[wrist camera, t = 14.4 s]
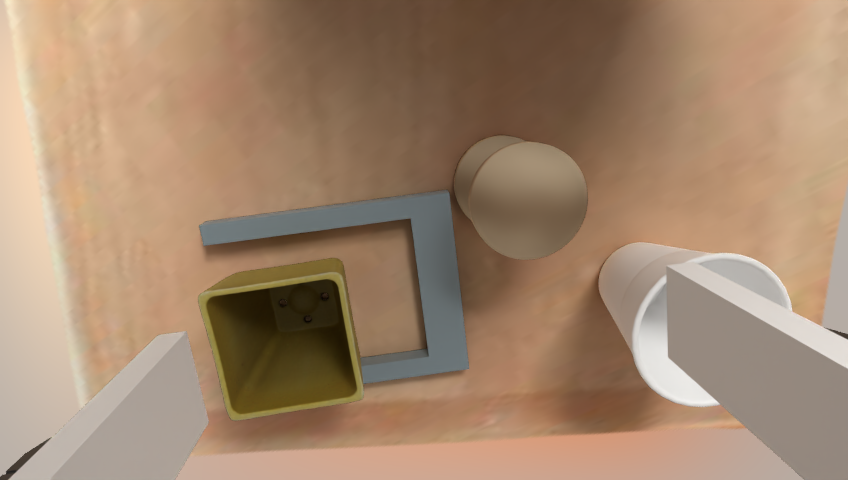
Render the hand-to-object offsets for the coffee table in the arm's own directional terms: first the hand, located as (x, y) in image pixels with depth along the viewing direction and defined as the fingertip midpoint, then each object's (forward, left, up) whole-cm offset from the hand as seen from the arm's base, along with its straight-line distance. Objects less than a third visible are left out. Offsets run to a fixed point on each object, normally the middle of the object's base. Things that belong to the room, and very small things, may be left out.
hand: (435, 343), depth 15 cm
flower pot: (+7, -9, -27) cm, 29 cm away
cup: (+9, +17, -27) cm, 33 cm away
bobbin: (0, +7, -27) cm, 28 cm away
